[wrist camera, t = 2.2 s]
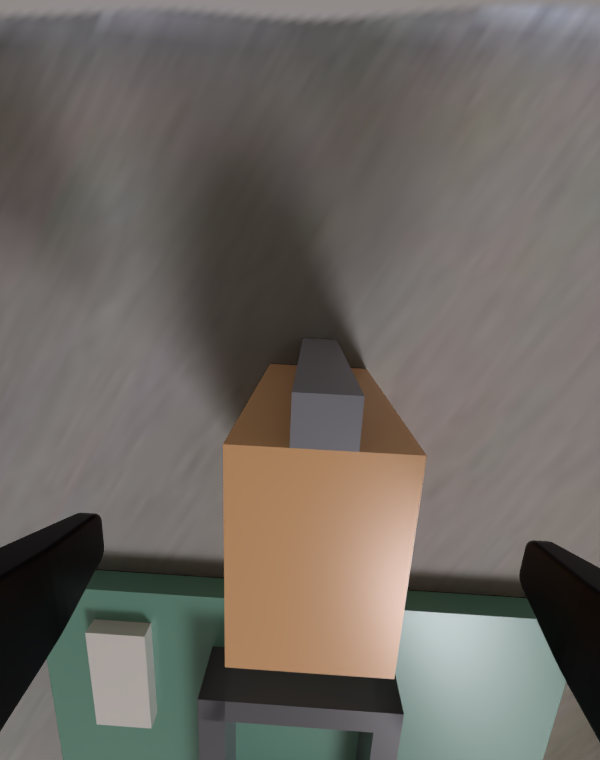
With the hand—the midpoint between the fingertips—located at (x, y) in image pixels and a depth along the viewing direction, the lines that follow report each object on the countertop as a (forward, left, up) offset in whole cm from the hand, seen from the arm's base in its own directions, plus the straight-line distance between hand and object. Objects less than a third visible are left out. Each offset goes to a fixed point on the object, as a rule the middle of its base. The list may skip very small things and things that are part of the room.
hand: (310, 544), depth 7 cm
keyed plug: (0, 0, -6) cm, 6 cm away
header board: (0, -15, -6) cm, 16 cm away
